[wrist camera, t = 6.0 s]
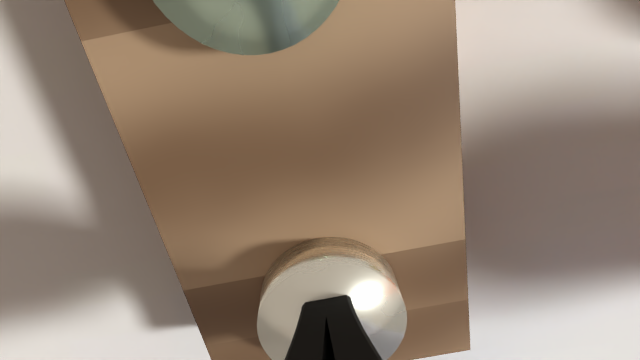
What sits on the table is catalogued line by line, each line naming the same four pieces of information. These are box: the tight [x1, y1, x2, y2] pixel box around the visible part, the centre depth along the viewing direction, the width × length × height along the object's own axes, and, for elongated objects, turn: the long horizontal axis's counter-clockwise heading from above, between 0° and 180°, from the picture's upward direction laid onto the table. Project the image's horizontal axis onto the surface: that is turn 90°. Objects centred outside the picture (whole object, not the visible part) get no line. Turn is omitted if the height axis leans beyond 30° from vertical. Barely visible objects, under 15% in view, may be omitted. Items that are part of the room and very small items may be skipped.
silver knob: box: [257, 237, 407, 360], centre depth 14 cm, size 4×4×4 cm
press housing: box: [64, 0, 470, 360], centre depth 12 cm, size 17×9×4 cm, turn 11°
